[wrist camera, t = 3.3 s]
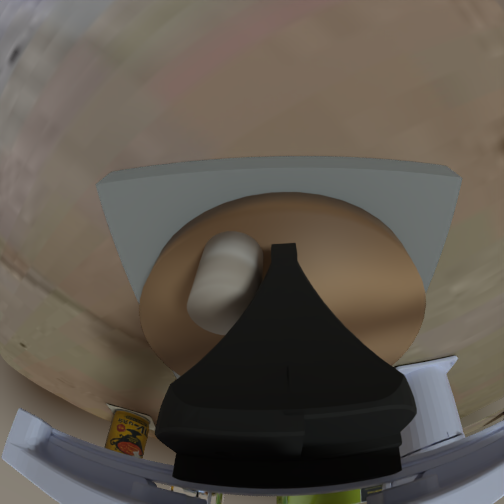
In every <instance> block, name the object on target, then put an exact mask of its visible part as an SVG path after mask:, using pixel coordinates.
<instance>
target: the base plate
mask: <svg viewBox="0 0 504 504" xmlns="http://www.w3.org/2000/svg"><path fill="white" fill-rule="evenodd" d="M461 182H462V177H460V176H459V175H458V174H456V173H455V172H454V171H452V170H451V169H450V168H448V167H447V166H444V165H436V164H428V163H419V162H410V161H399V160H388V159H374V158H356V157H329V156H275V157H246V158H228V159H214V160H201V161H190V162H180V163H171V164H163V165H155V166H147V167H140V168H133V169H126V170H120V171H114V172H110V173H109V174H108V175H107V176H105V177H104V178H103V179H102V180H101V181H99V182H98V183H97V184H96V188H97V191H98V195H99V198H100V201H101V205H102V208H103V211H104V214H105V217H106V220H107V223H108V226H109V229H110V232H111V235H112V238H113V240H114V243H115V246H116V249H117V251H118V254H119V257H120V259H121V262H122V264H123V267H124V269H125V272H126V274H127V277H128V279H129V282H130V284H131V286H132V289H133V291H134V293H135V296H136V298H137V300H138V303H139V304H140V297H141V294H142V290H143V287H144V285H145V283H146V280H147V278H148V276H149V274H150V272H151V270H152V268H153V266H154V264H155V262H156V260H157V258H158V256H159V255H160V253H161V251H162V249H163V248H164V246H165V245H166V244H167V242H168V241H169V240H170V239H171V237H172V236H173V235H174V234H175V233H176V232H177V231H179V230H180V229H181V228H182V227H183V226H184V225H185V224H186V223H188V222H189V221H191V220H192V219H194V218H196V217H197V216H199V215H200V214H202V213H203V212H205V211H207V210H210V209H212V208H214V207H216V206H218V205H221V204H223V203H226V202H229V201H232V200H236V199H239V198H242V197H246V196H251V195H258V194H264V193H271V192H302V193H311V194H320V195H324V196H328V197H332V198H336V199H340V200H343V201H345V202H348V203H350V204H353V205H355V206H357V207H360V208H362V209H364V210H365V211H367V212H369V213H370V214H372V215H373V216H375V217H377V218H378V219H379V220H381V221H382V222H383V223H384V224H385V225H386V226H387V227H389V228H390V229H391V230H392V231H393V233H394V234H395V235H396V236H397V238H398V239H399V240H400V241H401V243H402V244H403V246H404V248H405V249H406V251H407V253H408V254H409V256H410V258H411V259H412V261H413V263H414V265H415V266H416V268H417V270H418V272H419V275H420V277H421V279H422V281H423V285H424V290H425V294H426V291H427V289H428V286H429V284H430V282H431V279H432V277H433V274H434V271H435V269H436V266H437V263H438V261H439V258H440V255H441V252H442V249H443V246H444V243H445V240H446V237H447V234H448V231H449V228H450V224H451V221H452V217H453V214H454V210H455V206H456V203H457V199H458V195H459V190H460V186H461ZM172 371H173V370H172ZM173 373H174V375H175V376H176V378H177V379H178V378H179V377H180V375H178V374H177V373H175V372H174V371H173Z"/></svg>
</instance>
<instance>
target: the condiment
mask: <svg viewBox="0 0 504 504" xmlns="http://www.w3.org/2000/svg"><path fill="white" fill-rule="evenodd" d="M106 405H107V406H108V407H109V408H110V409H111V411H112V412H113V414H114V415H113V419H112V422H111V426H110V429H109V433H108V436H107V440H106V444H105V448H106V449H109V450H112V451H116V452H119V453H123V454H126V455H130V456H133V457H137V458H141V459H142V458H143V455H144V449H145V445H146V441H147V438H148V432H149V429H151V430H155V429H156V427H155V425H154V423H153V421H152V419H151V417H150V416H148V415H144V414H141V413H138V412H134V411H131V410H127V409H123V408H120V407H116V406H112V405H109V404H106Z"/></svg>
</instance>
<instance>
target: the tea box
mask: <svg viewBox="0 0 504 504" xmlns="http://www.w3.org/2000/svg"><path fill="white" fill-rule="evenodd" d="M382 485H383V484H382ZM382 485H377V486H372V487H367V488H362V489H356V490H350V491H343V492H335V493H326V494H315V495H300V496H277V504H367V499H366V497H367V496H368V495H371V494H374V493H378V492H381V491H382Z"/></svg>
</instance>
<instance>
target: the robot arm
mask: <svg viewBox="0 0 504 504" xmlns="http://www.w3.org/2000/svg"><path fill="white" fill-rule="evenodd" d="M457 359H458V358H457V356H451V357H446V358H442V359H437V360H432V361H427V362H422V363H416V364H410V365H404V366H399V367H396V368H394V367H392V366H391V365H389V364H388V363H387V362H385V361H384V360H383V359H381V358H380V357H379V356H378V355H376V354H375V353H374V352H373V351H372V350H370V349H369V348H368V347H367V346H366V345H364V344H363V343H362V342H361V341H360V340H359V339H358V338H357V337H356V336H355V335H354V334H353V333H352V332H351V331H350V330H349V329H348V328H346V327H345V325H344V324H343V323H342V322H341V321H340V320H339V319H338V318H337V317H336V316H335V315H334V313H333V312H332V311H331V310H330V309H329V308H328V306H327V305H326V304H325V303H324V301H323V300H322V299H321V297H320V296H319V295H318V293H317V292H316V290H315V289H314V288H313V286H312V285H311V283H310V282H309V280H308V278H307V277H306V275H305V273H304V272H303V270H302V268H301V266H300V265H299V263H298V259H297V248H296V243H282V244H271V264H270V267H269V269H268V271H267V273H266V275H265V277H264V279H263V281H262V283H261V285H260V287H259V289H258V290H257V292H256V294H255V296H254V297H253V299H252V301H251V302H250V304H249V305H248V307H247V308H246V310H245V311H244V312H243V314H242V315H241V316H240V318H239V319H238V320H237V322H236V323H235V324H234V325H233V326H232V328H231V329H230V330H229V331H228V333H227V334H226V335H225V336H224V337H223V338H222V339H221V340H220V341H219V342H218V343H217V344H216V345H215V346H214V347H213V348H212V349H211V350H210V351H209V352H208V353H207V354H206V355H205V356H204V357H203V358H202V359H201V360H200V361H199V362H198V363H196V364H195V365H194V366H193V367H192V368H190V369H189V370H188V371H187V372H185V373H184V374H183V375H182V376H180V377H179V378H178V379H177V380H175V381H174V382H173V383H171V384H170V386H169V388H168V390H167V393H166V395H165V397H164V400H163V402H162V405H161V408H160V412H159V416H158V420H157V424H156V429H155V435H156V437H157V438H158V439H159V440H160V441H161V442H162V443H164V444H165V445H166V446H167V447H169V448H170V449H172V450H173V451H174V452H176V458H175V464H174V466H173V465H168V464H163V463H158V462H154V461H149V460H145V459H141V458H137V457H133V456H130V455H126V454H123V453H119V452H116V451H112V450H109V449H106V448H103V447H100V446H97V445H94V444H91V443H89V442H86V441H83V440H81V439H78V438H76V437H73V436H71V435H68V434H66V433H63V432H61V431H59V430H56V429H54V428H52V427H51V426H50V425H49V424H48V423H46V422H45V421H44V420H42V419H40V418H39V417H37V416H35V415H33V414H31V413H29V412H27V411H26V410H24V409H22V408H19V409H18V412H17V414H16V417H15V419H14V422H13V424H12V427H11V430H10V433H9V435H8V438H7V441H6V444H5V447H4V450H3V454H2V459H3V460H4V461H5V462H7V463H8V464H9V465H10V466H12V467H13V468H14V469H16V470H17V471H18V472H20V473H21V474H22V475H23V476H25V477H26V478H27V479H29V480H30V481H31V482H32V483H33V484H35V485H36V486H37V487H39V488H40V489H41V490H42V491H44V492H45V493H46V494H48V495H49V496H50V497H52V498H53V499H54V500H56V501H57V502H59V503H60V504H207V501H206V499H201V498H196V497H192V496H189V495H186V494H183V493H179V492H174V491H170V490H165V489H161V488H158V487H157V486H156V484H155V483H154V482H157V483H161V484H166V485H170V486H175V487H180V488H186V489H192V490H198V491H205V492H213V493H222V494H234V495H248V496H300V495H315V494H326V493H335V492H343V491H350V490H356V489H362V488H367V487H372V486H377V485H382V484H383V485H382V491H381V492H378V493H374V494H371V495H368V496H367V497H366V499H367V504H493V503H495V502H496V501H497V500H499V499H500V498H502V497H503V496H504V420H502V421H500V422H499V423H497V424H495V425H492V426H490V427H489V428H486V429H484V430H482V431H480V432H478V433H475V434H473V435H471V436H468V437H466V438H465V435H464V433H463V430H462V426H461V422H460V418H459V414H458V411H457V407H456V404H455V400H454V397H453V394H452V391H451V387H450V384H449V381H448V378H447V375H446V373H447V372H448V371H449V370H450V369H451V367H452V366H453V365H454V363H455V362H456V361H457ZM152 481H153V482H152Z"/></svg>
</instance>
